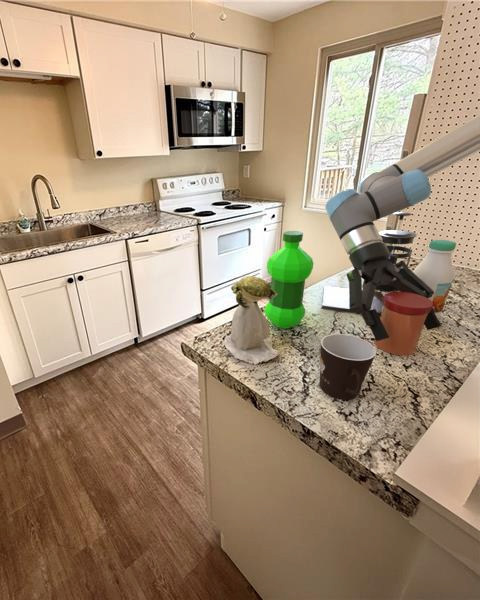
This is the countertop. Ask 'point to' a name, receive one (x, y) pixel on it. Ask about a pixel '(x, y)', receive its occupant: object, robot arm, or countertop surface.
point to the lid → (407, 303)
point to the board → (346, 300)
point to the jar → (400, 332)
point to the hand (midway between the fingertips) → (409, 333)
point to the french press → (396, 238)
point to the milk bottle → (437, 272)
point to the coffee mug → (344, 365)
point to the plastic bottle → (288, 281)
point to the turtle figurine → (251, 322)
